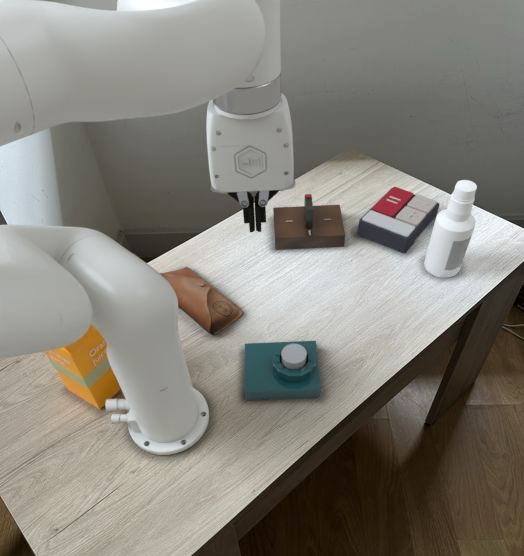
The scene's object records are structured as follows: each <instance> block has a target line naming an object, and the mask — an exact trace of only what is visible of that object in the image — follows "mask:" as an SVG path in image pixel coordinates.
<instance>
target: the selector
mask: <svg viewBox="0 0 524 556" xmlns="http://www.w3.org/2000/svg"><path fill="white" fill-rule="evenodd" d="M272 211H273V235H274V237H273V238H274V250H276V251H277V250H301V249H302V250H303V249H323V248H344V247H345V243H346V230H345V226H344V220H343V214H342V210H341V205H340V204H319V205H313V227H312V228H305V217H304V205H302V206H301V205H300V206H280V207H273V208H272Z"/></svg>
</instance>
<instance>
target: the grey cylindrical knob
mask: <svg viewBox="0 0 524 556" xmlns="http://www.w3.org/2000/svg"><path fill="white" fill-rule="evenodd" d="M281 359H282V364H283V365H284V366H285V367H286V368H288V369H291V370H297V369H300V368H302V367H303V366H304V365H305V364H306V360H307V352H306V349H305V348H304V347H303V346H301V345H299V344H289V345H287V346H285V347H284V348H283V350H282V352H281Z"/></svg>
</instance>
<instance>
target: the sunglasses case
mask: <svg viewBox="0 0 524 556" xmlns="http://www.w3.org/2000/svg"><path fill="white" fill-rule="evenodd" d="M159 273H160V274H161V275H162V276H163V277H164V278H165V279H166V280H167V281H168V282H169V284H170V285H171V286H172V288H173V289H174V291H175V293H176V296H177V299H178V309H180V310H182V312H184V313H185V314H186V315H187V316H188V317H189V318H191V319H192V320H193V321H194V322H196V323H197V324H198V325H199V326H200V327H201V328H202V329H203V330H204V331H206V332H207V334H209V335H213V336H217V335H219V334H220V333H221V332H223V331H224V330H226V329H227V328H228V327H229V326H231V325H232V324H234V323H235V322H236V321H238V319H240V318H241V317H242V316H243V314H244V312H243V310H242V309H241V308H240V306H238V305H236V304H235V303H234V302H233V301H231V300H230V299H229V298H228V297H227V296H225V295H224V294H223V293H221V292H220V291H218V290H217V289H216V288H214V286H212V285H211V284H210V283H208V282H207V281H206V280H205V279H203V278H202V277H201V276H200V275H199V274H197V273H196V272H195V271H194V270H193V269H192V268H190V267H188V266H185V267H183V268H180V269H175V270H171V271H166V272H159Z"/></svg>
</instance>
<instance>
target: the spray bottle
mask: <svg viewBox="0 0 524 556" xmlns="http://www.w3.org/2000/svg"><path fill="white" fill-rule="evenodd" d="M477 187H478V185H477V184H476V183H475V182H474V181H472V180H469V179H462V180H458V181H457V182H456V184H455V186H454V189H453V190H452V193H451V195H450V198H449V202H448V204H447V207H446V208H444V209H442V210H441V211H438V212H437V215H436V217H435V221H434V224H433V227H432V232H431V235H430V239H429V243H428V247H427V249H426V254H425V257H424V261H423V267H424V269H425V270H426V271H427V273H429V274H430V275H432V276H434V277H437V278H440V279H442V278H443V279H445V278H446V279H448V278H451V277H454V276H456V275H457V274H458V273H460V271H461V268H462V265H463V262H464V259H465V256H466V253H467V250H468V247H469V246H470V243H471V239H472V237H473V233H474V230H475V228H476V218H475V216H474V215H472V209H473V205H474V203H475V200H476V198H475V195H476V191H477V189H478V188H477Z"/></svg>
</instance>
